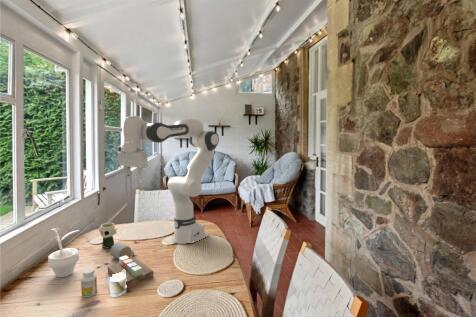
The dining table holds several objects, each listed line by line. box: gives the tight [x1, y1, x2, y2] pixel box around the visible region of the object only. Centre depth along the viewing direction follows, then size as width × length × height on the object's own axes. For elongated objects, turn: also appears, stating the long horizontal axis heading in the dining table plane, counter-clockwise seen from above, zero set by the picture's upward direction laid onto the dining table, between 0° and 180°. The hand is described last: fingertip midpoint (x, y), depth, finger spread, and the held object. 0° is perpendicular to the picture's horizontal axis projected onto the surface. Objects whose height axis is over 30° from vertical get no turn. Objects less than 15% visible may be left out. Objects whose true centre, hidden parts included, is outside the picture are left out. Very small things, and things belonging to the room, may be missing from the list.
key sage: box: [131, 265, 142, 278], centre depth 110 cm, size 3×3×3 cm
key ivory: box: [118, 256, 130, 266], centre depth 120 cm, size 3×3×3 cm
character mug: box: [98, 222, 117, 249], centre depth 144 cm, size 11×7×13 cm, turn 78°
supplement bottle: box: [80, 267, 98, 298], centre depth 101 cm, size 5×5×10 cm
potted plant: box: [47, 225, 81, 278], centre depth 115 cm, size 13×12×25 cm
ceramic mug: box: [109, 241, 135, 260], centre depth 132 cm, size 11×8×8 cm
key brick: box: [123, 258, 133, 270], centre depth 117 cm, size 3×3×3 cm
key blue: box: [127, 262, 137, 274], centre depth 114 cm, size 3×3×3 cm
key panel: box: [107, 256, 154, 289], centre depth 115 cm, size 13×19×3 cm
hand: (132, 175), depth 127 cm, fingers open, 8 cm apart
